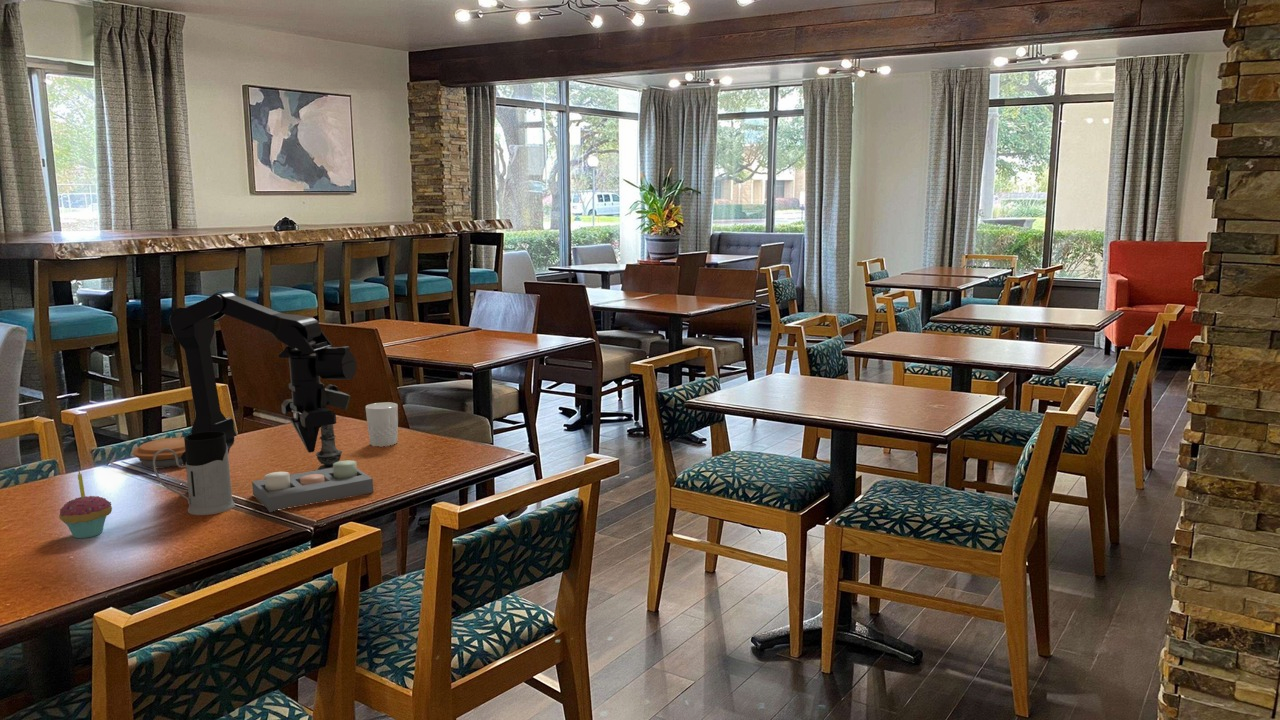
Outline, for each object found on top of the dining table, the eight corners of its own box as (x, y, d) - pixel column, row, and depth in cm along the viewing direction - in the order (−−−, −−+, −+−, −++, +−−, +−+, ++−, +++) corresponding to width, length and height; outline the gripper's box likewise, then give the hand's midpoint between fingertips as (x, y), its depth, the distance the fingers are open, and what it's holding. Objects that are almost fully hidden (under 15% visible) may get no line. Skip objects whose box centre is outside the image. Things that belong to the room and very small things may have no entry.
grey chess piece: (347, 464, 217) (343, 414, 215) (336, 471, 212) (333, 420, 210) (323, 464, 218) (319, 414, 216) (312, 471, 212) (308, 420, 210)
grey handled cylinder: (241, 508, 186) (235, 435, 184) (165, 524, 177) (157, 448, 175) (226, 498, 193) (220, 428, 190) (152, 513, 184) (144, 440, 181)
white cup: (406, 442, 238) (404, 404, 236) (382, 449, 231) (380, 410, 229) (384, 438, 242) (382, 401, 240) (361, 445, 235) (358, 406, 233)
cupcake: (56, 534, 173) (49, 472, 171) (107, 523, 179) (100, 462, 177) (69, 545, 167) (61, 481, 165) (120, 533, 173) (114, 471, 171)
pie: (191, 450, 233) (189, 430, 232) (216, 461, 223) (214, 440, 222) (124, 462, 222) (122, 442, 222) (147, 474, 212) (145, 453, 211)
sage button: (338, 483, 196) (337, 467, 195) (331, 478, 199) (330, 462, 199) (360, 479, 198) (359, 463, 198) (353, 474, 202) (352, 459, 202)
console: (270, 512, 184) (268, 497, 183) (253, 495, 195) (251, 481, 194) (373, 492, 196) (372, 478, 195) (351, 477, 207) (351, 464, 206)
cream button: (269, 495, 188) (267, 479, 187) (263, 490, 191) (261, 474, 191) (293, 491, 190) (292, 475, 190) (287, 486, 194) (285, 470, 194)
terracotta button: (304, 497, 192) (303, 482, 191) (298, 492, 196) (297, 476, 195) (328, 493, 195) (327, 477, 194) (321, 488, 198) (320, 472, 198)
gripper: (358, 380, 188) (363, 454, 191) (330, 368, 203) (335, 437, 206) (302, 387, 182) (308, 464, 184) (278, 374, 197) (283, 445, 199)
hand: (311, 451), depth 194 cm, fingers closed
